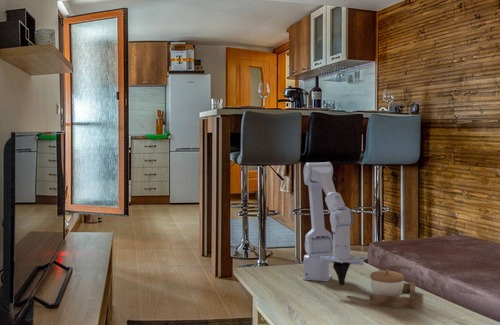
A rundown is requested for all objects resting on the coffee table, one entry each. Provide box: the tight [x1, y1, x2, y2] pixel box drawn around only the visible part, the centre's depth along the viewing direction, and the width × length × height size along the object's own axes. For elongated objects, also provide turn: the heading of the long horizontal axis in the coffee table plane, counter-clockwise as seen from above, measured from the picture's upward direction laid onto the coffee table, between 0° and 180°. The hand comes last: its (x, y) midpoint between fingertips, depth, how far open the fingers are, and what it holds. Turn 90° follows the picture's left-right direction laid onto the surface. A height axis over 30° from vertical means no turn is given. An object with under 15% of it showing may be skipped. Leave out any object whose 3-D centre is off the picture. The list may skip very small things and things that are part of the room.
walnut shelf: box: [369, 281, 416, 310], centre depth 164 cm, size 14×18×3 cm
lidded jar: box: [370, 269, 405, 297], centre depth 164 cm, size 11×11×9 cm
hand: (341, 284), depth 169 cm, fingers closed
